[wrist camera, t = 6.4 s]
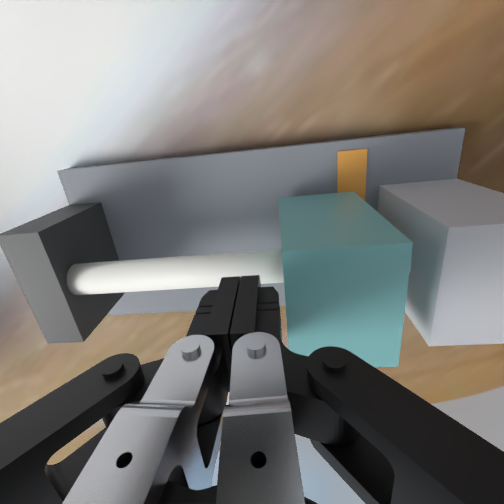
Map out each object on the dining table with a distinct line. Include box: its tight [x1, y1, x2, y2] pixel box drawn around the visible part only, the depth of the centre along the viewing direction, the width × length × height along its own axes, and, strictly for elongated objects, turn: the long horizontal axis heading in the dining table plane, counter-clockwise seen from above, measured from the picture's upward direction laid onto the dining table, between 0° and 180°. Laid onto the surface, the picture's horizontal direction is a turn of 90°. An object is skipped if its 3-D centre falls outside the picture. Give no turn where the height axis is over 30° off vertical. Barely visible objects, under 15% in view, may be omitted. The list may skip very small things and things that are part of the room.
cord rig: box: [0, 128, 504, 346], centre depth 15 cm, size 10×22×8 cm, turn 96°
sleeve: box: [278, 191, 413, 367], centre depth 14 cm, size 5×4×7 cm
